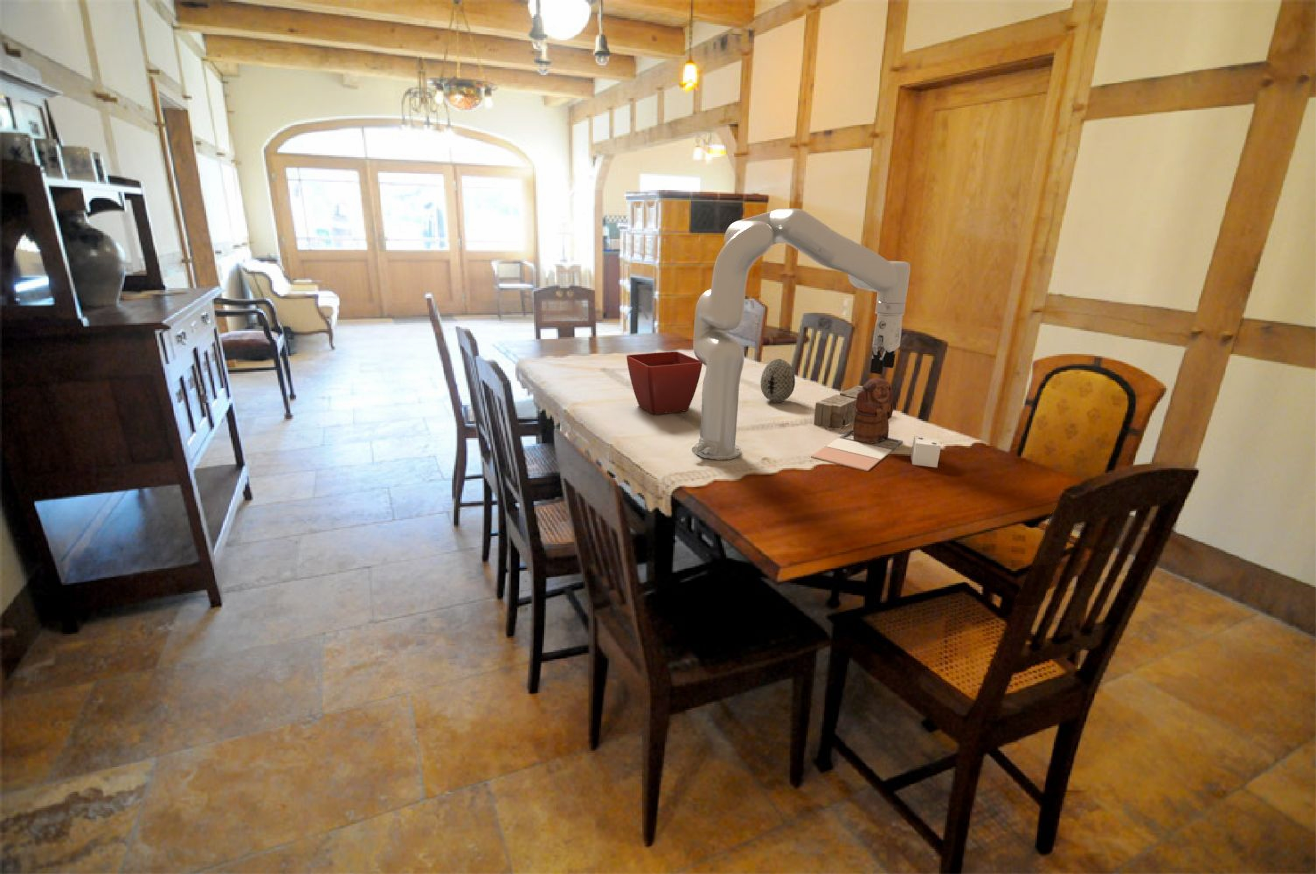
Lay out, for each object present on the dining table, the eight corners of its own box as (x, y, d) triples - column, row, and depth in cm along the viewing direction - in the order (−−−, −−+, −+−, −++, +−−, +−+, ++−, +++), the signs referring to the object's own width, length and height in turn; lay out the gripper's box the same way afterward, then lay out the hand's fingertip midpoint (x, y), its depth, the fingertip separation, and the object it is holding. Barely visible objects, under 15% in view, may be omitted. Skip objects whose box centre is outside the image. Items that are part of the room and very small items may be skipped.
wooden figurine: (866, 445, 178) (875, 383, 172) (848, 439, 183) (856, 378, 177) (893, 438, 184) (902, 378, 178) (875, 432, 189) (883, 374, 183)
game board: (867, 471, 161) (867, 470, 160) (810, 457, 169) (811, 455, 169) (902, 442, 183) (902, 440, 183) (850, 430, 192) (851, 429, 191)
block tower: (835, 434, 192) (876, 411, 212) (838, 407, 189) (880, 387, 209) (812, 427, 197) (854, 406, 217) (814, 402, 194) (857, 383, 214)
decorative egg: (797, 400, 222) (802, 358, 217) (785, 408, 213) (789, 364, 208) (766, 395, 228) (770, 354, 223) (753, 402, 219) (756, 359, 214)
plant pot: (624, 403, 214) (625, 354, 208) (675, 398, 221) (677, 350, 216) (647, 419, 197) (648, 366, 192) (701, 413, 205) (704, 362, 199)
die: (936, 467, 165) (941, 445, 163) (912, 464, 166) (916, 443, 164) (934, 459, 170) (938, 438, 168) (910, 457, 172) (914, 436, 170)
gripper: (894, 313, 163) (885, 378, 168) (913, 306, 176) (904, 366, 181) (865, 310, 167) (857, 373, 172) (886, 304, 180) (878, 363, 186)
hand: (881, 370), depth 177 cm, fingers open, 9 cm apart
